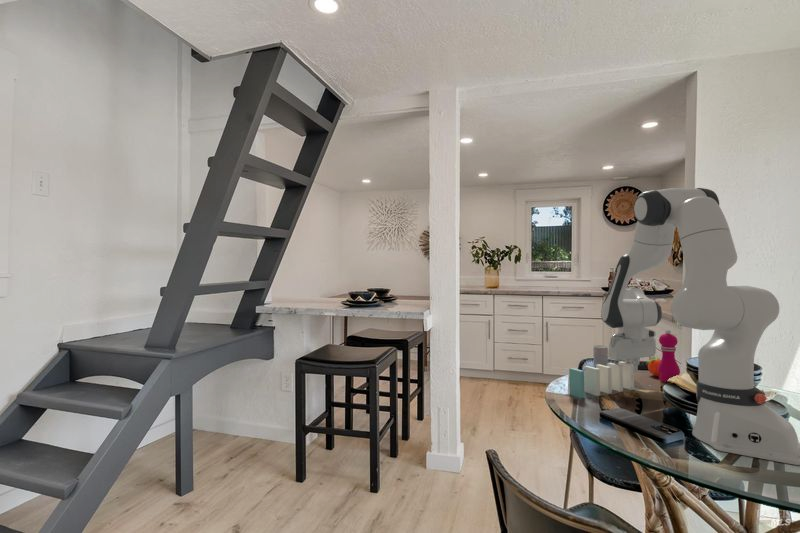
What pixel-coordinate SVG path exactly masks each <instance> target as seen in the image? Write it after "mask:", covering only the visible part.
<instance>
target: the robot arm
mask: <svg viewBox="0 0 800 533" xmlns="http://www.w3.org/2000/svg"><path fill="white" fill-rule="evenodd" d="M633 215H634V217H635V219H636V220H637V222H636V224H635V230H634V233H633V241H632V244H631V246H630V248H629V250H628V251H626V253H625V254H624V255H622V256H621V257H620V258H619V260H618V262H617V265H616V267H615V270H614V273H613V276H612V278H611V282H610V284H609V288H608V291H607V294H606V297H605V299H604V301H603V303H602V306H601V309H600V317H601V321H602V322H604V324H605V325H607V326H608V327H610V328H611V329H618V330H617V331H618V333H615V334H613V335H612V336H611V337H610V341H609V346H608V359H610V360H612V361H616V362H617V361H618V362H620V361H624V362H626V363H631V364H634V372H636V371H638V368H639V367H638V366H639V363H640V362H641V359H642V358H648V357H655V355H656V353H657V343H656V335H657V333H656V330H652V329H650V328H649V327H655V326H657V325H658V324H659V323H660V321H661V320H662V316H663V315H662V314H663V312H662V306H661V305H660V304H659V303H658V302H657V301H656V300H654V299H651V298H649V297H647V296H646V295H645V291H644V290H643V289H641V288H637V287H636V288H635V287H634V288H633V287H631V288H628V285H629V282H630V281H631V279H632V278H634V277H635V276H636V275H638V274H640V273H643V272H645V271H649V270H651V269H655V268H657V267H659V266H661V265H662V264H664V263H665V262H666V261H668V260H669V258H670V257H671V254H672V251H673V246H674V245H673V244H674V238H675V231H676V229H677V232H678V238H679V242H680V245H681V246H680V247H681V251H682V255H683V260H684V265H685V272H684V273H685V274H684V280H683V283H682V286H681V287H680V289H679V290H678V291H677V292H676V293H675V294H674V296H673V297H672V299H671V302H670V311H671V315H672V317H673V319H674V320H675V321H676V323H677V324H679V325H680V326H682V327H684V328H688V329H689V328H690V329H693V330H694V329H695V330H698V331H699V330H700V331H712V330H713V334H712V336H711V337H710V339H709V341H708V342H707V343H705V344H704V345H703V346H702V347H700V349H699V351H698V354H697V358H698V360H697V361H698V362H697V363H698V364H697V366H698V380H696V383H695V384H696V385H695V390H696V391H695V395H696V401H697V411H696V412H697V413H696V417H695V418H696V419H695V423H694V425H693V429H692V432H691V434H692V436H693V437H695V439H697V440H699V441H701V442H703V443H705V444H708V446H711V447H712V448H713V449H715V450H717V451H719V452H724V453H730V454H734V455H735V454H736V455H741V456H746V457H751V458H758V459H762V460H763V459H764V460H766V461H767V460H768V461H774V462H778V463H783V464H788V465H795V466H800V442H799V437H798V435H797V434H798V433H797V432H796V429H795V427H794V426H793V424H792V423H791V422H790V421H788V419H786V418H784V417H783V416H782V415H780V414H779V413H777V411H775V410H774V409H773V408H771V407H769V406H768V405H766V400H767V396H766V393H765V391H764V389H760V388H758V387H756V386H755V382H754V381H755V380H754V377H755V376H754V374H755V371H754V369H755V368H754V367H755V356H756V352H757V351H756V350H757V347H758V344H759V343H760V340H761V338H762V336H763V334H764V332H765V331H766V329H767V328H768V327H769V326H770V325H772V323H774V322H775V321H776V319H777V318H778V317H779V314H780V303H779V300H778V299H777V297H776V296H775V295H774V294H773V293H772V292H771V291H769V290H767V289H763V288H760V287H757V286H751V285H750V286H748V285H728V283H727V276H728V270H730V269H731V268H732V267H733V266H735V264H736V263H737V261H738V254H737V250H736V247H735V244H734V240H733V238H732V237H733V236H732V233H731V230H730V227H729V224H728V222H727V219H726V216H725V214H724V213H723V210H722V209H721V206H720V200H719V196H718V195H717V194H716V192H715V191H714V190H712V189H709V188H704V187H696V188H692V187H691V188H690V187H688V188H687V187H685V188H683V187H680V188H679V187H670V188H662V189H657V190H656V189H652V190H647V191H644V192H641V193H640V194H639V195H638V196H637V197H636V198H635V201H634V203H633Z"/></svg>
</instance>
